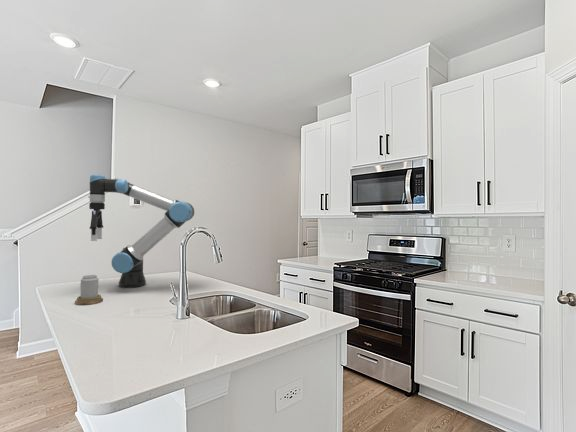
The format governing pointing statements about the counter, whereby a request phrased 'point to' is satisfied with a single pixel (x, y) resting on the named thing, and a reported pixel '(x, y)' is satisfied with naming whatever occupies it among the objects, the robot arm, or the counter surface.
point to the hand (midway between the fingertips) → (96, 239)
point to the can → (89, 287)
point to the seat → (88, 300)
